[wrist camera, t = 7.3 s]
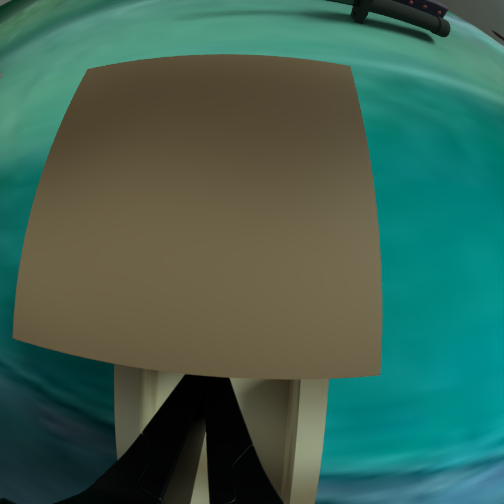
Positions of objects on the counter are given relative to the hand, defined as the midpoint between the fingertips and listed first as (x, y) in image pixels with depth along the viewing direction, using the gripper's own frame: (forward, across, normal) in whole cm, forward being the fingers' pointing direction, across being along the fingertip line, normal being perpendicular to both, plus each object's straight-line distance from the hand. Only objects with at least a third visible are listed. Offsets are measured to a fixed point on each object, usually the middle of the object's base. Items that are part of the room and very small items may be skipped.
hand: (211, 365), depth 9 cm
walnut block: (+6, 0, +1) cm, 6 cm away
